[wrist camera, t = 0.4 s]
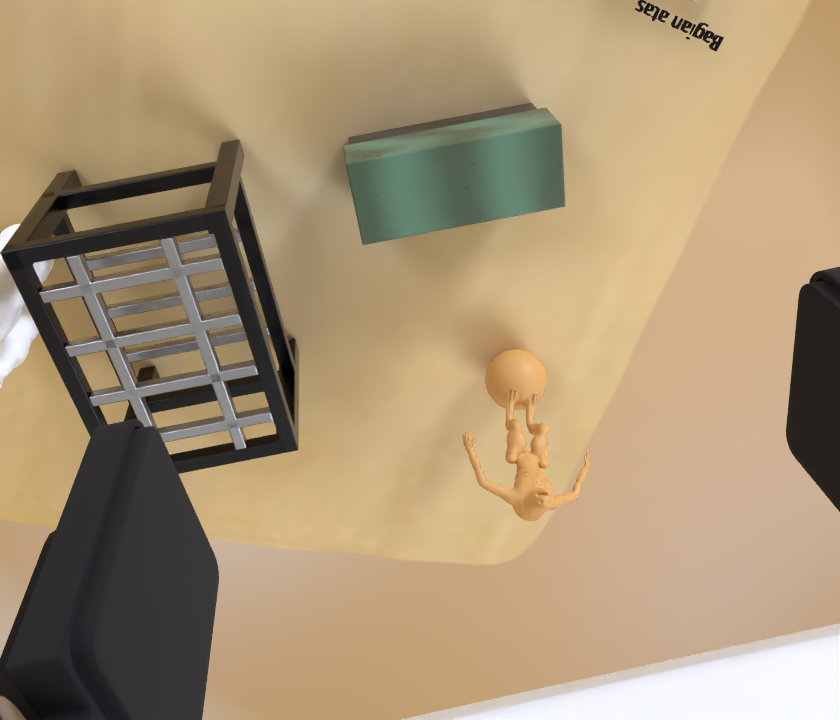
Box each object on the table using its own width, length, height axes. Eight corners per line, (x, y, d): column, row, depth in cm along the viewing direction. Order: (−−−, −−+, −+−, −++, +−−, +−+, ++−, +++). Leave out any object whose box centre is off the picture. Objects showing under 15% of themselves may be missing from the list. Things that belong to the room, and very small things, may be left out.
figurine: (576, 349, 54) (638, 465, 44) (544, 419, 57) (595, 543, 47) (460, 326, 52) (498, 443, 42) (433, 400, 55) (463, 526, 45)
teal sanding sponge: (357, 209, 46) (362, 245, 42) (341, 133, 44) (345, 164, 40) (542, 174, 47) (565, 206, 42) (537, 97, 44) (561, 123, 40)
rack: (57, 173, 43) (-1, 252, 35) (239, 139, 43) (224, 210, 35) (144, 380, 51) (114, 486, 43) (299, 351, 51) (298, 450, 43)
